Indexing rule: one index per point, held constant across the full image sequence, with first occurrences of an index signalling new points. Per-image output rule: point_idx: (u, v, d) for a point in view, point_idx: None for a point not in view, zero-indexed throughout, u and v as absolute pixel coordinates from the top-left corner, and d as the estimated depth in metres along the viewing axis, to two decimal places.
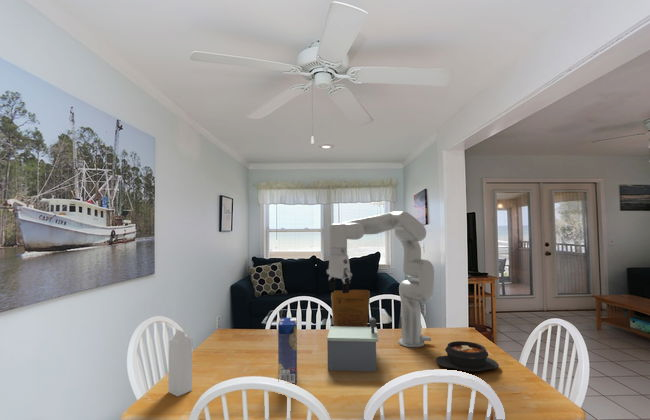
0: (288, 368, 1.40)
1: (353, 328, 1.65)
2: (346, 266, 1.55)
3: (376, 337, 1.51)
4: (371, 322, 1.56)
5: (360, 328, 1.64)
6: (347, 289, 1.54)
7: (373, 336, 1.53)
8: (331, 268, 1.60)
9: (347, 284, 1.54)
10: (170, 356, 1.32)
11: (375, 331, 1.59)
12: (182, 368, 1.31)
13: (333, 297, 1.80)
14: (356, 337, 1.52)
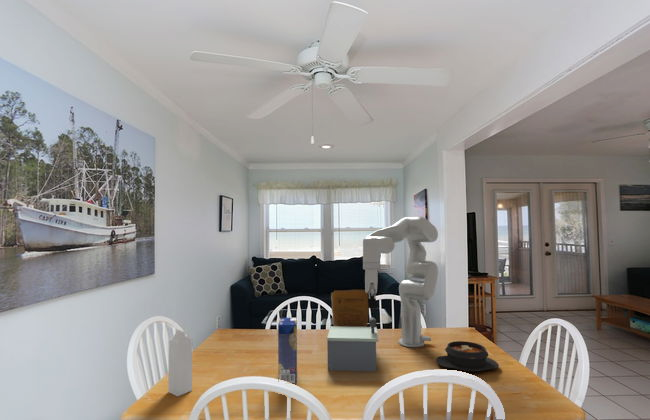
0: (288, 368, 1.40)
1: (353, 328, 1.65)
2: None
3: (376, 337, 1.51)
4: (371, 322, 1.56)
5: (360, 328, 1.64)
6: None
7: (373, 336, 1.53)
8: None
9: None
10: (170, 356, 1.32)
11: (375, 331, 1.59)
12: (182, 368, 1.31)
13: (333, 297, 1.80)
14: (356, 337, 1.52)
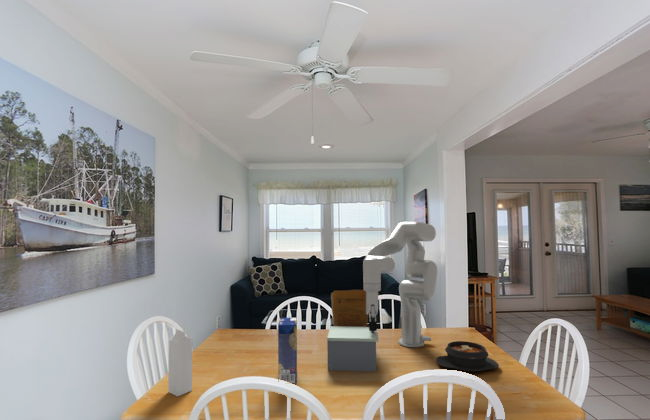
0: (288, 368, 1.40)
1: (353, 328, 1.65)
2: None
3: (376, 337, 1.51)
4: None
5: (360, 328, 1.64)
6: None
7: (373, 336, 1.53)
8: None
9: None
10: (170, 356, 1.32)
11: (375, 331, 1.59)
12: (182, 368, 1.31)
13: (333, 297, 1.80)
14: (356, 337, 1.52)
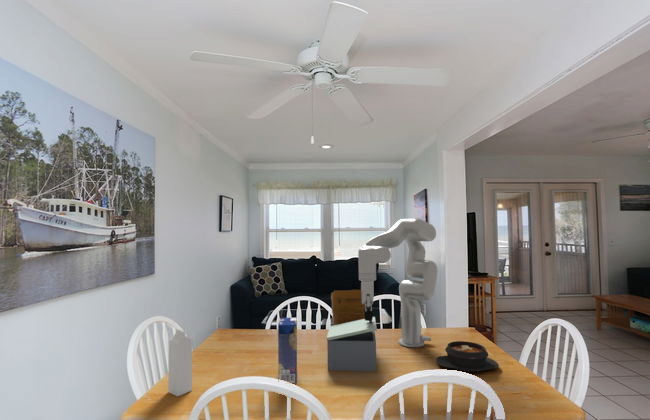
0: (288, 368, 1.40)
1: (352, 323, 1.65)
2: None
3: (374, 326, 1.51)
4: None
5: (358, 322, 1.64)
6: None
7: (371, 325, 1.53)
8: (373, 294, 1.56)
9: None
10: (170, 356, 1.32)
11: (373, 321, 1.60)
12: (182, 368, 1.31)
13: (333, 297, 1.80)
14: (355, 330, 1.52)
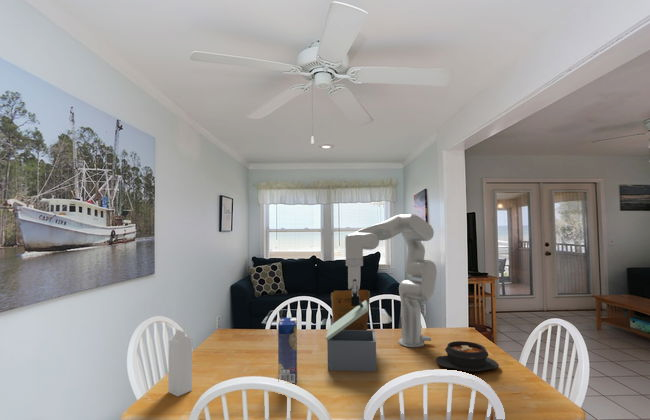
0: (288, 368, 1.40)
1: (347, 314, 1.65)
2: None
3: (364, 308, 1.52)
4: None
5: (352, 311, 1.64)
6: None
7: (362, 309, 1.54)
8: None
9: None
10: (170, 356, 1.32)
11: (364, 304, 1.60)
12: (182, 368, 1.31)
13: (333, 297, 1.80)
14: (349, 320, 1.52)
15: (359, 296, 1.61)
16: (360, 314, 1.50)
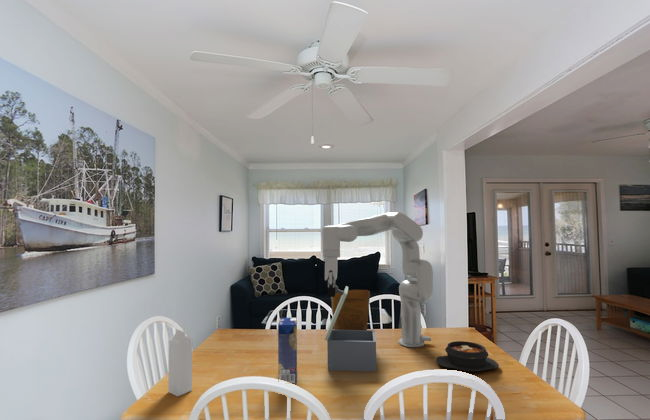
0: (288, 368, 1.40)
1: None
2: None
3: (344, 293, 1.53)
4: None
5: None
6: None
7: (343, 295, 1.55)
8: (336, 271, 1.58)
9: None
10: (170, 356, 1.32)
11: (344, 290, 1.61)
12: (182, 368, 1.31)
13: (333, 297, 1.80)
14: (336, 311, 1.53)
15: (336, 285, 1.62)
16: (342, 300, 1.51)
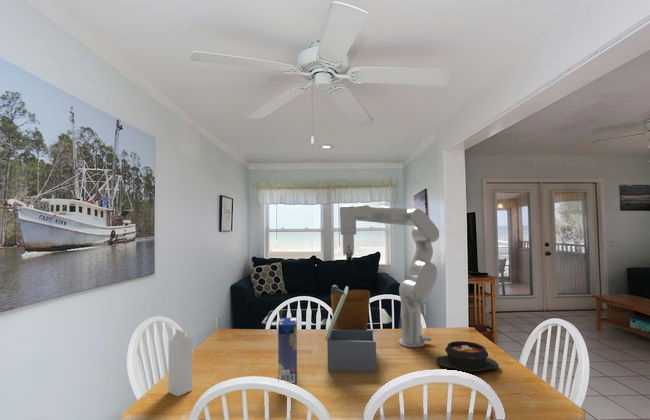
0: (288, 368, 1.40)
1: None
2: None
3: (344, 293, 1.53)
4: (332, 290, 1.58)
5: None
6: None
7: (343, 295, 1.55)
8: (353, 247, 1.72)
9: None
10: (170, 356, 1.32)
11: (344, 290, 1.61)
12: (182, 368, 1.31)
13: (333, 297, 1.80)
14: (336, 311, 1.53)
15: (336, 285, 1.62)
16: (342, 300, 1.51)
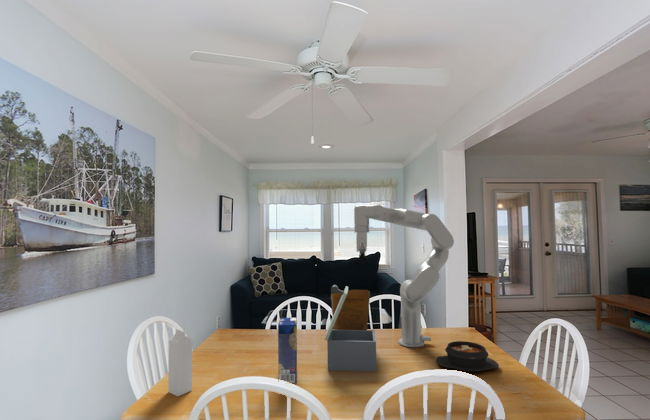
0: (288, 368, 1.40)
1: None
2: None
3: (344, 293, 1.53)
4: (332, 290, 1.58)
5: None
6: None
7: (343, 295, 1.55)
8: (366, 244, 1.83)
9: None
10: (170, 356, 1.32)
11: (344, 290, 1.61)
12: (182, 368, 1.31)
13: (333, 297, 1.80)
14: (336, 311, 1.53)
15: (336, 285, 1.62)
16: (342, 300, 1.51)
